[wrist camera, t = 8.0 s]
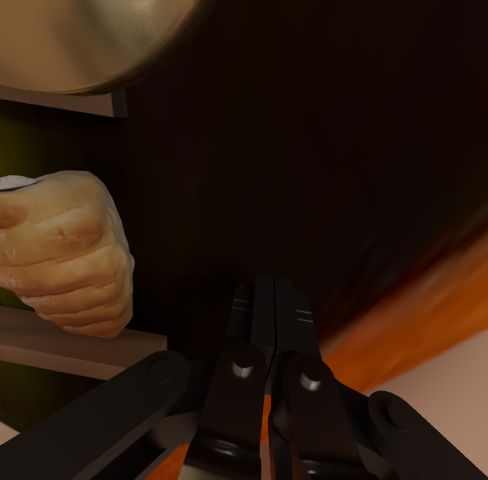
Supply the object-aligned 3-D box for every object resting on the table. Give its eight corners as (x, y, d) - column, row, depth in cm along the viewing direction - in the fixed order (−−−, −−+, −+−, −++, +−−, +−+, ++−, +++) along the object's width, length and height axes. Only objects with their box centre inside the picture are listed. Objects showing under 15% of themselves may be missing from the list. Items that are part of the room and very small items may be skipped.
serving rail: (-164, 12, 9) (-363, -39, 6) (162, 63, 9) (112, 33, 6) (-13, 318, 16) (-71, 358, 13) (167, 351, 16) (145, 399, 13)
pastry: (167, 313, 15) (136, 370, 11) (75, 318, 16) (20, 371, 12) (106, 157, 11) (28, 172, 7) (-12, 178, 12) (-129, 200, 8)
